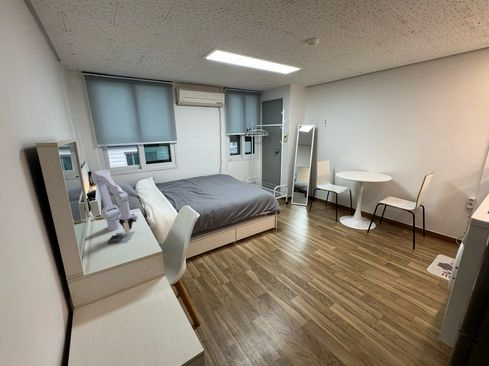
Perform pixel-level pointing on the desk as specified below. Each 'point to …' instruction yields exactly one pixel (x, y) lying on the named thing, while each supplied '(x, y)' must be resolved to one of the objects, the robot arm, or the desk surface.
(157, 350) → the desk surface
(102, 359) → the desk surface
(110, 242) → the frame
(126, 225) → the plug
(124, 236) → the board
